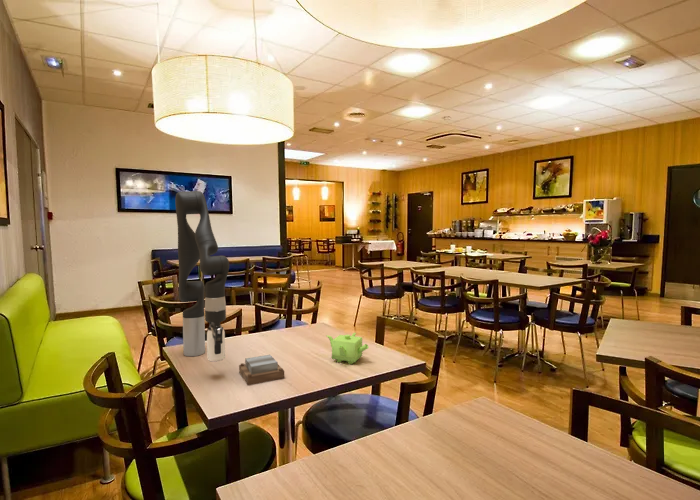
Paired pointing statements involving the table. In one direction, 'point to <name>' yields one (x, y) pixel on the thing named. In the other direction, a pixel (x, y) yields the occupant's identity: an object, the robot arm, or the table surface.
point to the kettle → (347, 348)
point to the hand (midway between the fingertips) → (216, 350)
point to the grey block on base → (260, 370)
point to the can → (210, 347)
